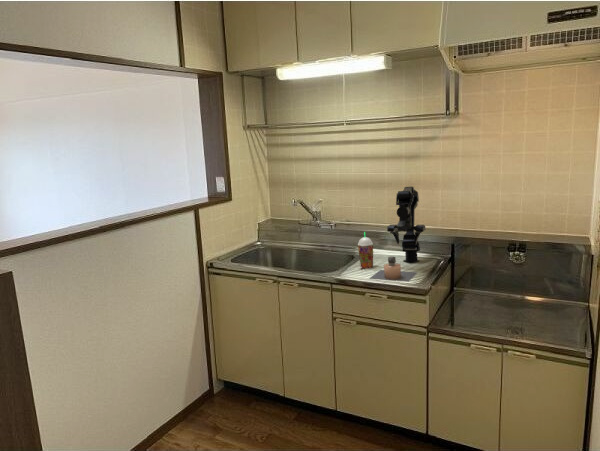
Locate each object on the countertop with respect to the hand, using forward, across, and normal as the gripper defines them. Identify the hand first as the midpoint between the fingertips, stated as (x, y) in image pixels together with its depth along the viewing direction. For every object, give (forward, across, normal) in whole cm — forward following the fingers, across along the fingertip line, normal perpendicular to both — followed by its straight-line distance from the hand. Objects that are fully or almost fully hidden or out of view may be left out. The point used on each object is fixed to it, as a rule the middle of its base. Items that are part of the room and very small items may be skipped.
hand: (406, 244), depth 236 cm
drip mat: (+13, -2, -17) cm, 21 cm away
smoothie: (+13, -22, -4) cm, 26 cm away
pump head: (+6, -2, -21) cm, 22 cm away
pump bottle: (+12, -2, -20) cm, 23 cm away
